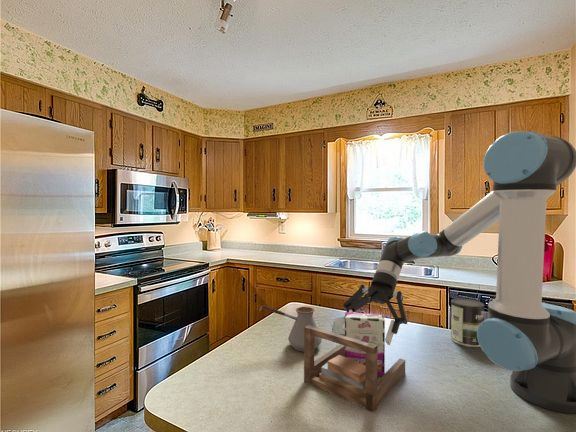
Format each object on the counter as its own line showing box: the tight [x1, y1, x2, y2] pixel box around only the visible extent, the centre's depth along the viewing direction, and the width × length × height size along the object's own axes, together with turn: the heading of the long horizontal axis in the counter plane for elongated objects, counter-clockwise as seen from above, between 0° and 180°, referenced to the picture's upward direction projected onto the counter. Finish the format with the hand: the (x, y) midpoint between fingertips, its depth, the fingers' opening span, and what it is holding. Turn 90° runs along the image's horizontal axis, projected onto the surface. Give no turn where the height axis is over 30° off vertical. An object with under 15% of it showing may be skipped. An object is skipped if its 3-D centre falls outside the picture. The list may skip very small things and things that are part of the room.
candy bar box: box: [344, 311, 386, 377], centre depth 90 cm, size 11×5×16 cm, turn 79°
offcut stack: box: [318, 355, 366, 397], centre depth 83 cm, size 14×7×6 cm, turn 50°
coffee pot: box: [259, 304, 323, 353], centre depth 106 cm, size 21×12×15 cm, turn 99°
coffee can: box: [450, 298, 485, 348], centre depth 112 cm, size 10×10×14 cm
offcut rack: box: [303, 325, 406, 413], centre depth 87 cm, size 20×22×15 cm
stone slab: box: [331, 316, 345, 336], centre depth 125 cm, size 22×3×10 cm
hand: (365, 336), depth 92 cm, fingers open, 13 cm apart
